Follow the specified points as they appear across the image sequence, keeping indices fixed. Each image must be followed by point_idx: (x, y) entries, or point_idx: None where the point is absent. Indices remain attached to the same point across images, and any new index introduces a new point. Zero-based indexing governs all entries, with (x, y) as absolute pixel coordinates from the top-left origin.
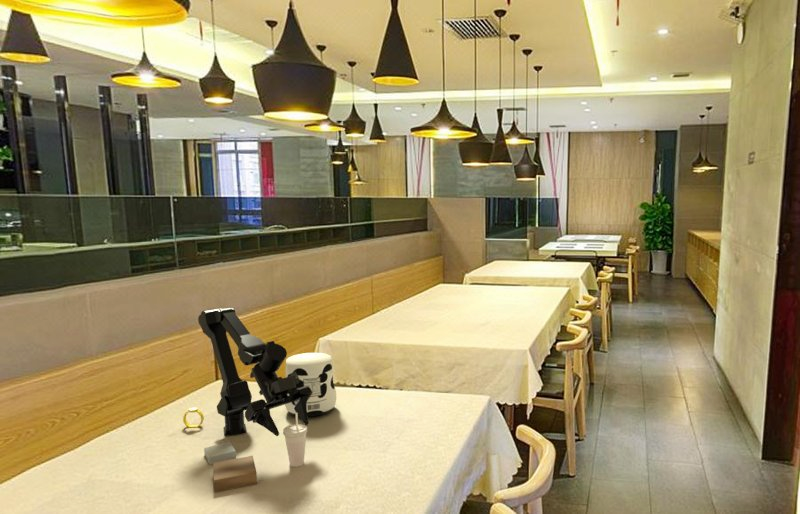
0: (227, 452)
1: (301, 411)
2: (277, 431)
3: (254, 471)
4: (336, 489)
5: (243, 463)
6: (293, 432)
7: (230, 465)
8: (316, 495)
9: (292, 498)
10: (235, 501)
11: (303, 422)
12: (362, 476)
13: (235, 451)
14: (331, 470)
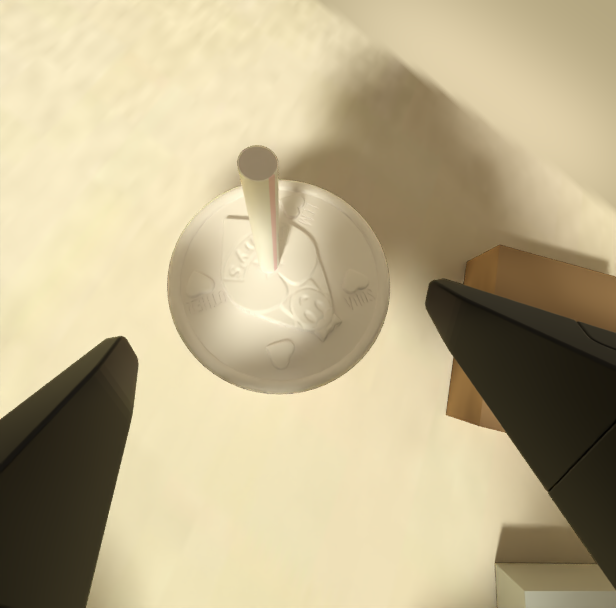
0: (565, 598)
1: (32, 511)
2: (454, 286)
3: (506, 255)
4: (253, 65)
5: None
6: (327, 218)
7: None
8: (324, 76)
9: (393, 107)
10: (549, 200)
11: (132, 402)
12: (129, 75)
13: (523, 589)
14: (195, 181)
